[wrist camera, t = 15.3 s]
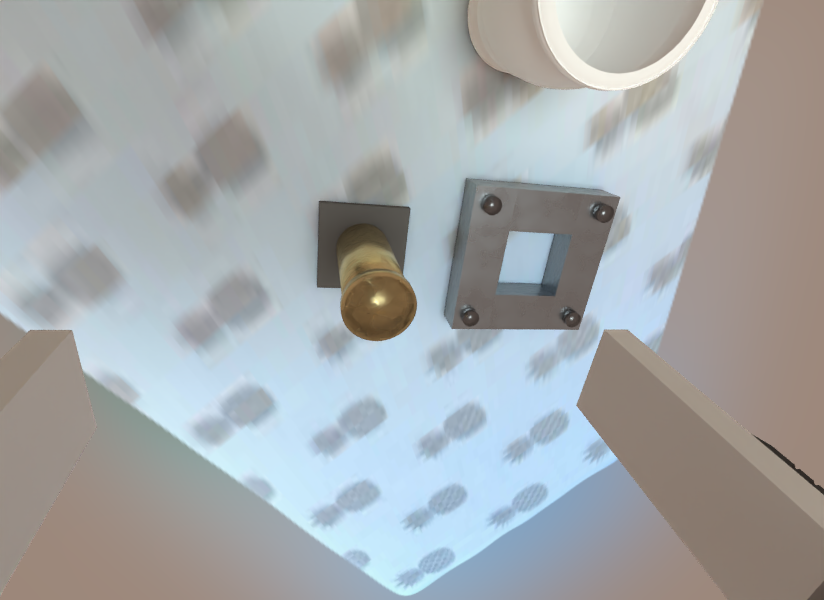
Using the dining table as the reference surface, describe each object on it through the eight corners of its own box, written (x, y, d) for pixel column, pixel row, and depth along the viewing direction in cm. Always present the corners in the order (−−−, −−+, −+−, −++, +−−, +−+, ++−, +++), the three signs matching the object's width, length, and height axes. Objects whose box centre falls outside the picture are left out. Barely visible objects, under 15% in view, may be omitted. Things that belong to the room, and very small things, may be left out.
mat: (317, 284, 42) (317, 287, 42) (319, 201, 39) (319, 202, 38) (399, 287, 44) (400, 289, 44) (408, 207, 41) (410, 208, 40)
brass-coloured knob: (332, 273, 42) (339, 340, 31) (335, 219, 39) (343, 271, 29) (388, 275, 43) (412, 340, 32) (393, 222, 40) (421, 274, 30)
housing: (443, 314, 46) (453, 332, 43) (466, 178, 41) (480, 187, 37) (564, 316, 50) (582, 333, 46) (601, 189, 44) (625, 199, 40)
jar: (569, -89, 33) (737, -199, 20) (587, 61, 38) (730, 52, 25) (437, -39, 33) (518, -116, 20) (471, 105, 38) (555, 120, 25)
